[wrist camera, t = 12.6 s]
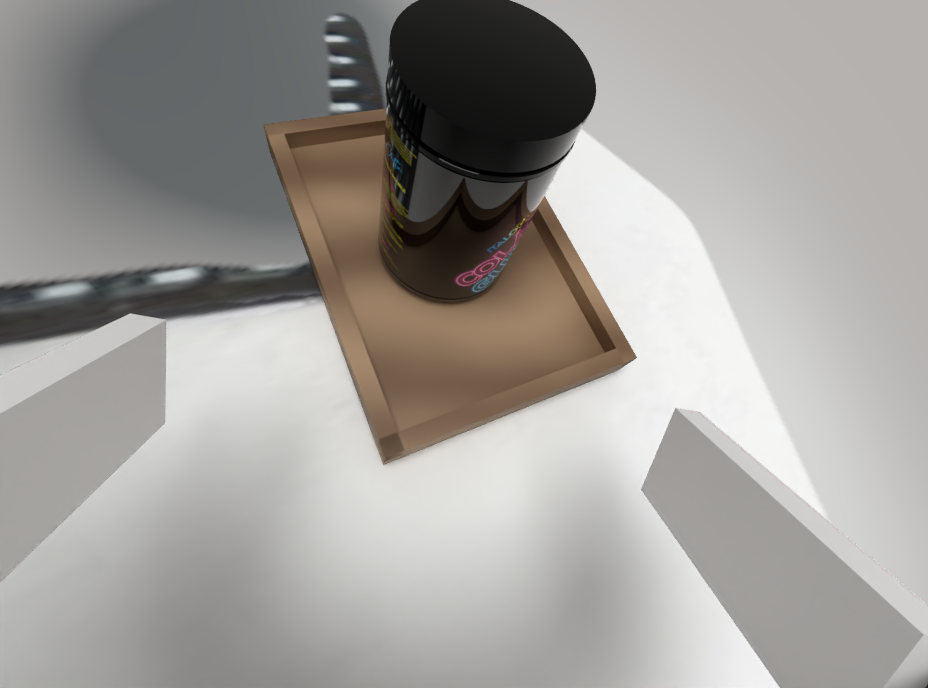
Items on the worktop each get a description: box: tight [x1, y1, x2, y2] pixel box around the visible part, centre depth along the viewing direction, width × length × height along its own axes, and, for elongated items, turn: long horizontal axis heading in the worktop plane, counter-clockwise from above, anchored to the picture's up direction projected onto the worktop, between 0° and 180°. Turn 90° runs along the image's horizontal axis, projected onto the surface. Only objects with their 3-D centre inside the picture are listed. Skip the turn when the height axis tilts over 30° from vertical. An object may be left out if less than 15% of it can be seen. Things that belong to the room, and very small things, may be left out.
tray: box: [264, 109, 637, 465], centre depth 24 cm, size 18×13×2 cm
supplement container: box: [378, 0, 596, 302], centre depth 19 cm, size 7×7×10 cm
